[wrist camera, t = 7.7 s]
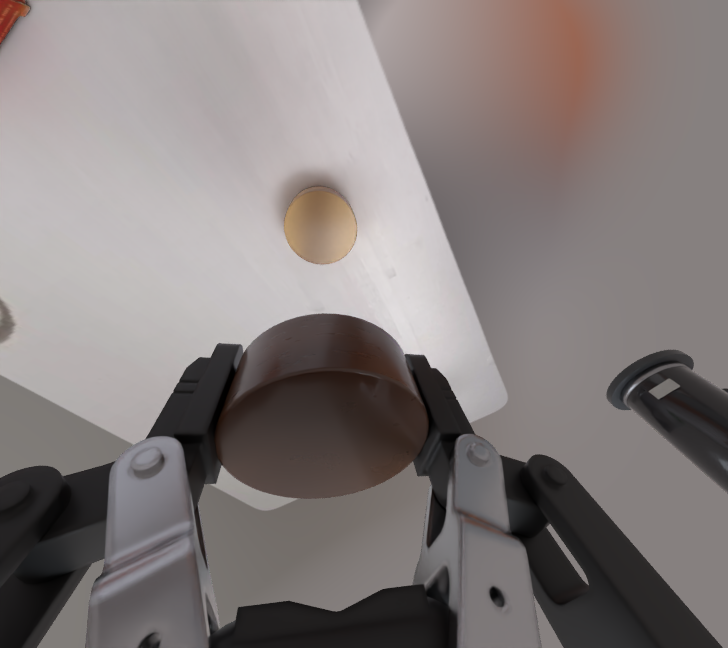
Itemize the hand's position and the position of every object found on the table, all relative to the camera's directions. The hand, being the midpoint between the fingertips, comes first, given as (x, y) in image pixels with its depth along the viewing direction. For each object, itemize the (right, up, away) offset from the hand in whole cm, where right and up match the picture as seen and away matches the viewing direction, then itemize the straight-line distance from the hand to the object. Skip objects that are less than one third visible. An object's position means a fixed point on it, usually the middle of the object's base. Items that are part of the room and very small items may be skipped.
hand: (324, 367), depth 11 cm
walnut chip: (0, 0, -1) cm, 1 cm away
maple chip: (-2, +11, +15) cm, 18 cm away
